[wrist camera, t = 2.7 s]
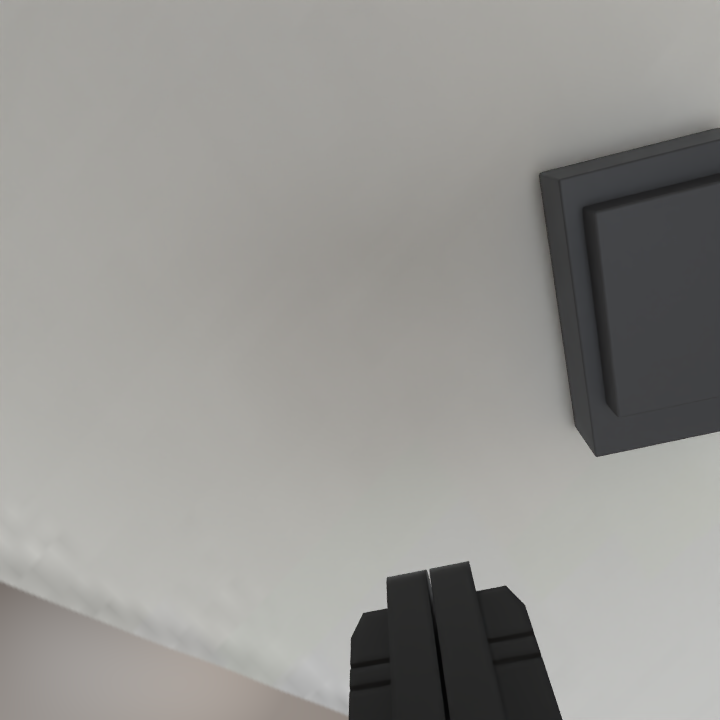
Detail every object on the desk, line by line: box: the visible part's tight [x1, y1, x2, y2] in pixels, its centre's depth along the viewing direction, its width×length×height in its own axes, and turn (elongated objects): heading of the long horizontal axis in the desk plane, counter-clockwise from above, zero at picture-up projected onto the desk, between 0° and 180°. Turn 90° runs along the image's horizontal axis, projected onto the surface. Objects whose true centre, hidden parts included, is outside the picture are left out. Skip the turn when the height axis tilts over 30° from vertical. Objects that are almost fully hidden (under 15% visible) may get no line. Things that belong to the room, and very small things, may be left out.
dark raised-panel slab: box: [539, 128, 720, 457], centre depth 21 cm, size 10×6×4 cm, turn 14°
